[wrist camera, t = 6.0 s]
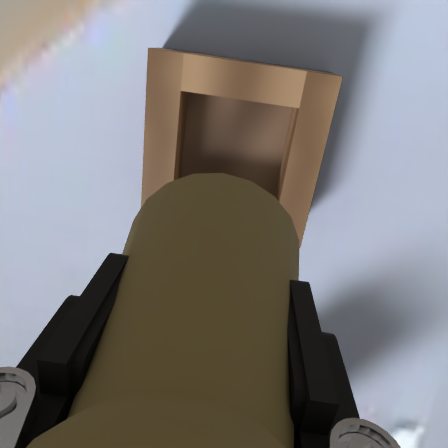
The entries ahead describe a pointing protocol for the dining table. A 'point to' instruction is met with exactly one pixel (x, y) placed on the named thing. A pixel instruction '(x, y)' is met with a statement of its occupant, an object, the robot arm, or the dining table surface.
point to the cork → (194, 327)
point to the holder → (237, 124)
